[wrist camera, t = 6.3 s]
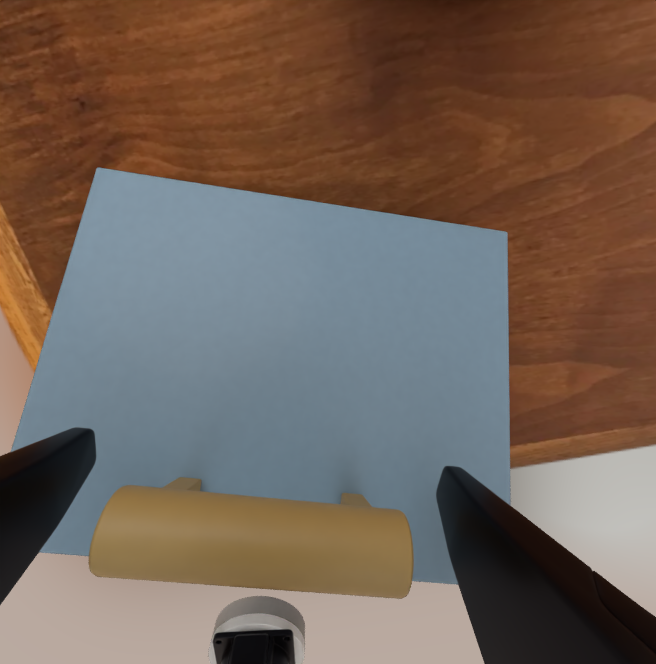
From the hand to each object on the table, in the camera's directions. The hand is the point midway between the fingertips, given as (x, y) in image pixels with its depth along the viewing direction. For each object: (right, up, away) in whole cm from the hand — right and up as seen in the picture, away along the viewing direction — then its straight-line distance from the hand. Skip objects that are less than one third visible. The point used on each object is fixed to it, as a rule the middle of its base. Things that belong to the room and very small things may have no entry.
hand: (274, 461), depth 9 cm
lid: (0, +2, +3) cm, 4 cm away
